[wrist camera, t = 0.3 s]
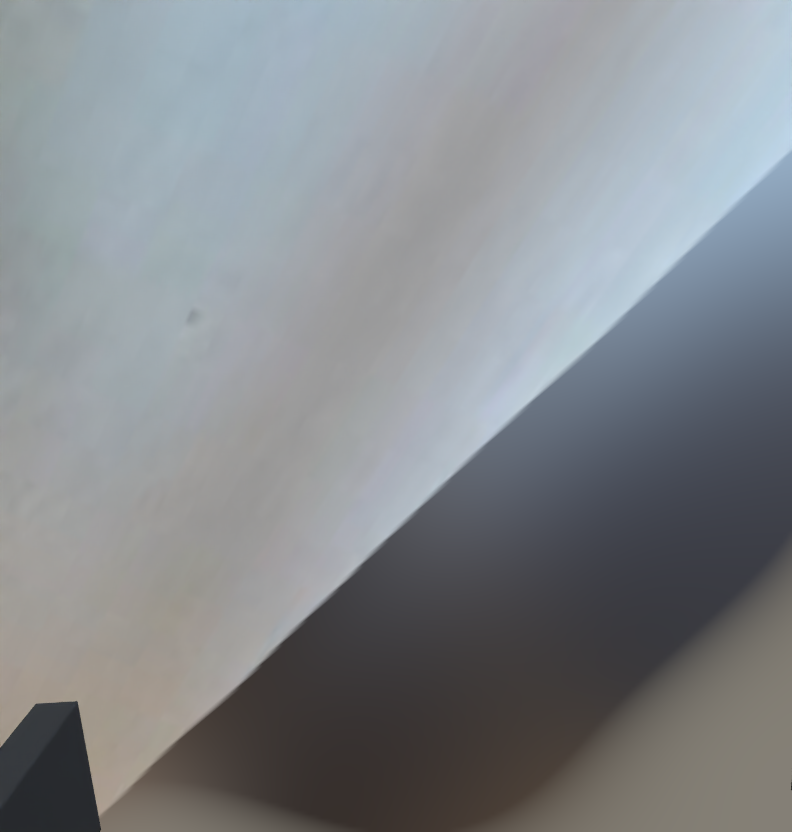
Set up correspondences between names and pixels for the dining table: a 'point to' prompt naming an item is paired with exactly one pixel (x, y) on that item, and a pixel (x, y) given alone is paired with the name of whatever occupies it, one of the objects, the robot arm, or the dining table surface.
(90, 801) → the robot arm
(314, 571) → the dining table surface
